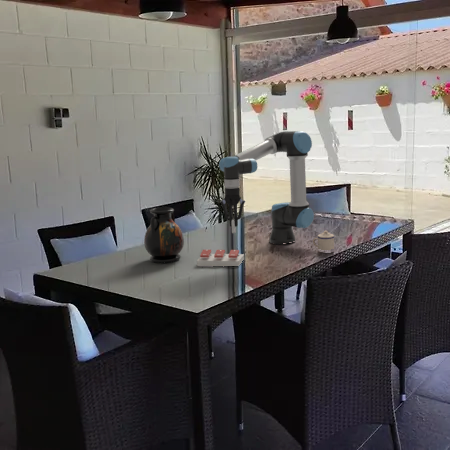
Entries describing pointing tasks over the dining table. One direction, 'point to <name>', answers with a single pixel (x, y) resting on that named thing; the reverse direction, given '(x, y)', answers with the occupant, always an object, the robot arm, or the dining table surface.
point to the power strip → (220, 261)
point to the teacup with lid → (325, 241)
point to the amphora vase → (163, 237)
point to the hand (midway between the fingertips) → (234, 232)
